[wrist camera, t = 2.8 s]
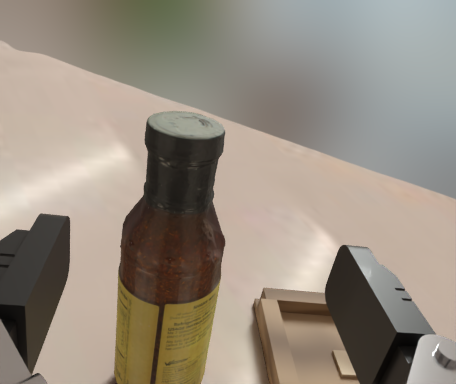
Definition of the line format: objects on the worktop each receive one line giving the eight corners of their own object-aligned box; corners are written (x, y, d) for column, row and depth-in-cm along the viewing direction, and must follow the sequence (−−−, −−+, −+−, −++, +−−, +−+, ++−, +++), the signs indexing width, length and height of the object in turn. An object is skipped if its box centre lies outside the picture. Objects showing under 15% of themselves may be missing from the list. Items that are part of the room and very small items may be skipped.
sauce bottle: (205, 358, 33) (261, 118, 24) (192, 434, 28) (258, 159, 19) (124, 341, 33) (149, 95, 24) (94, 413, 28) (113, 129, 19)
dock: (472, 458, 30) (485, 441, 29) (283, 454, 28) (291, 435, 27) (389, 314, 42) (396, 299, 41) (253, 303, 40) (258, 287, 39)
